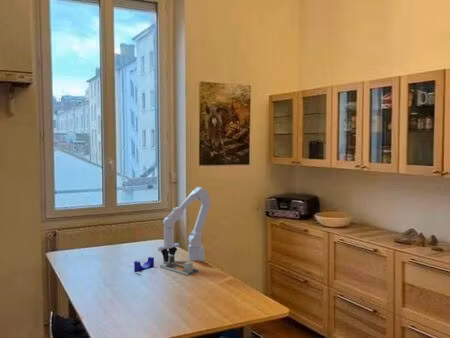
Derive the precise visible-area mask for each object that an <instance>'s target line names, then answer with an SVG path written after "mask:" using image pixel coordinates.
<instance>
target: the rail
mask: <svg viewBox="0 0 450 338" xmlns="http://www.w3.org/2000/svg"><path fill="white" fill-rule="evenodd" d="M159 268H160V269H163V270H164V269H165V270H167V271H170V272H173V273H177V274H180V275H184V276H186V277H187V276H191V275H193V274H196V273H200V272H201V271H200V269H198V268H194V267H193V272H191V273H186V272H184V264H180V263H178V262H171V263H169V264H166V265H163V264H160V265H159Z"/></svg>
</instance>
